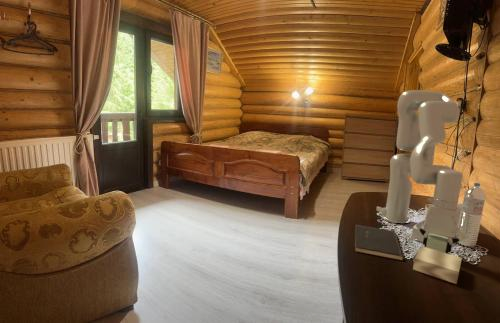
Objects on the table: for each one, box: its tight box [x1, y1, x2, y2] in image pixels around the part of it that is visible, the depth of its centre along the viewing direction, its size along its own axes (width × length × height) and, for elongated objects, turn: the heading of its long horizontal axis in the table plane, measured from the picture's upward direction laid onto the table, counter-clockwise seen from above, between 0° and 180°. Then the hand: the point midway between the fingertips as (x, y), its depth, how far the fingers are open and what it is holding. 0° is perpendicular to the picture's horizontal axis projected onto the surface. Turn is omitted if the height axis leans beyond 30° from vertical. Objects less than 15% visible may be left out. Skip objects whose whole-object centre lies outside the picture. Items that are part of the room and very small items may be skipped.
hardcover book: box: [354, 224, 404, 261], centre depth 118 cm, size 16×23×2 cm
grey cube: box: [410, 223, 424, 243], centre depth 124 cm, size 5×5×5 cm
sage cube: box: [426, 233, 448, 253], centre depth 112 cm, size 6×6×6 cm
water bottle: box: [455, 182, 487, 248], centre depth 120 cm, size 7×7×25 cm
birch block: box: [412, 245, 463, 285], centre depth 100 cm, size 12×12×4 cm
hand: (436, 249), depth 113 cm, fingers open, 6 cm apart
